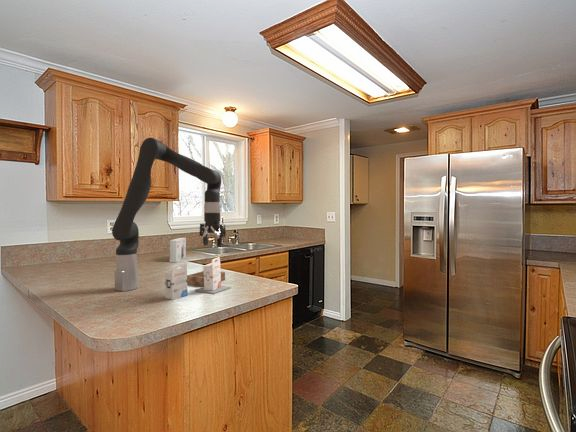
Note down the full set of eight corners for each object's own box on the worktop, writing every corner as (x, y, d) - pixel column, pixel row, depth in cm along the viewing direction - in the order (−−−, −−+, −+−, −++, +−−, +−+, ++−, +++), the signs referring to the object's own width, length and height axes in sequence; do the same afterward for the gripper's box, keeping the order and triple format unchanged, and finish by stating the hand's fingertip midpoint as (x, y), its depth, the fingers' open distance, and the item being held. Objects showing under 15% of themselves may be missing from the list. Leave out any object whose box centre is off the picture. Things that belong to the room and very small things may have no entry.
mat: (214, 294, 148) (214, 292, 148) (194, 291, 153) (194, 289, 153) (231, 288, 158) (231, 286, 158) (212, 285, 164) (212, 284, 164)
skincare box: (177, 262, 233) (176, 240, 232) (169, 262, 233) (168, 240, 232) (186, 257, 254) (186, 237, 253) (179, 257, 254) (179, 237, 253)
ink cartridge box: (212, 285, 161) (211, 256, 160) (221, 286, 159) (220, 256, 159) (203, 290, 152) (202, 259, 152) (213, 290, 151) (212, 259, 151)
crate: (225, 280, 175) (224, 272, 175) (204, 286, 161) (203, 278, 161) (207, 277, 181) (207, 270, 181) (186, 284, 167) (185, 275, 167)
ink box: (180, 293, 149) (180, 262, 148) (188, 295, 146) (187, 262, 146) (164, 298, 141) (164, 265, 141) (172, 300, 139) (171, 266, 138)
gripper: (195, 211, 155) (195, 245, 155) (218, 212, 148) (218, 247, 148) (206, 211, 161) (206, 244, 162) (229, 211, 154) (229, 245, 155)
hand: (212, 245), depth 155 cm, fingers open, 8 cm apart
